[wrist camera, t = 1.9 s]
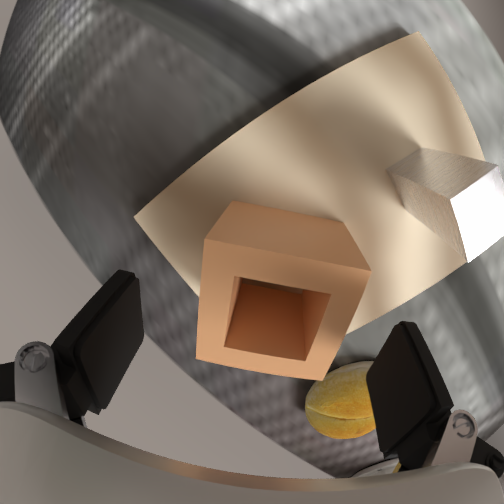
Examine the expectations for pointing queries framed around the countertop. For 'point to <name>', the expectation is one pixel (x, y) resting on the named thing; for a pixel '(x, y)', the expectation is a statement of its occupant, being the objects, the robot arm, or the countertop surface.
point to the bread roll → (341, 403)
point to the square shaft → (452, 197)
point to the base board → (332, 171)
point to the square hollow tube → (277, 291)
